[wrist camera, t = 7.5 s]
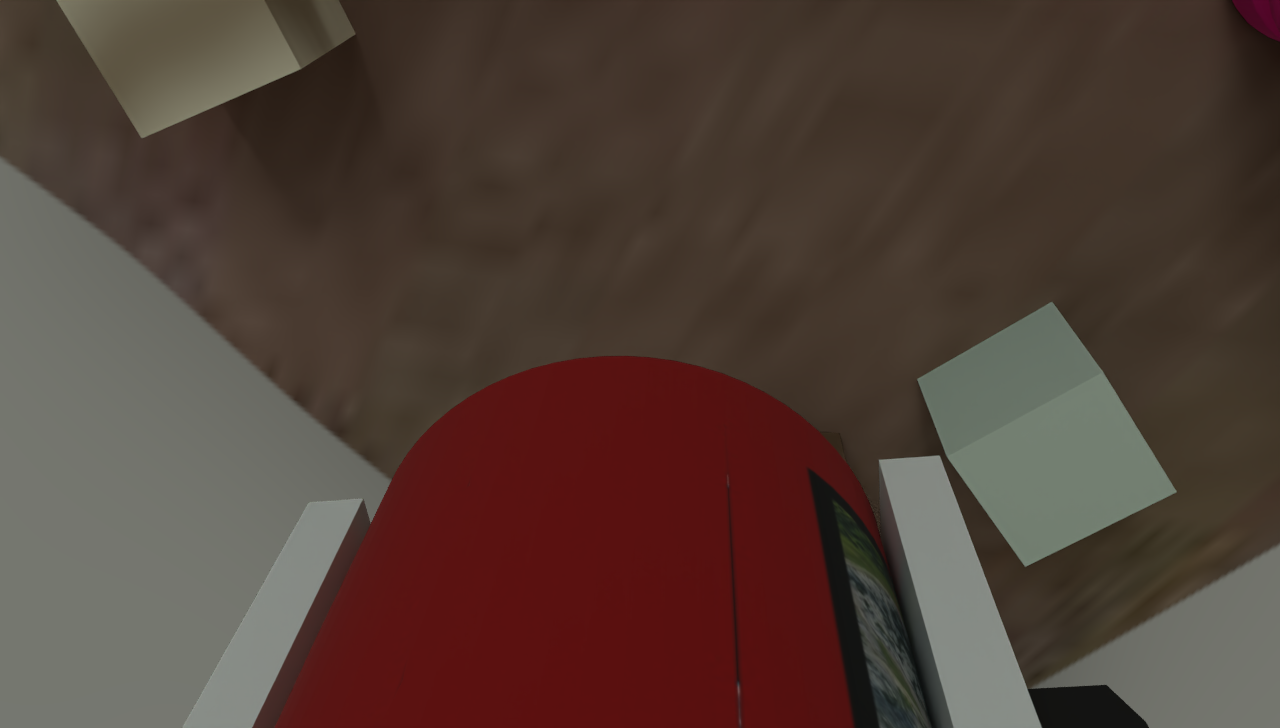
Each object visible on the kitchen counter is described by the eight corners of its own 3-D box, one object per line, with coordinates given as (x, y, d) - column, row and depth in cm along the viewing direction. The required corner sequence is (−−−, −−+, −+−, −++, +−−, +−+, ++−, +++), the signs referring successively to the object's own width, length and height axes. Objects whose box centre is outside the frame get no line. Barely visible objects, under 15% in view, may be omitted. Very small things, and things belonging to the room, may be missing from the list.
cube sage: (916, 378, 36) (946, 456, 32) (1051, 300, 35) (1103, 372, 30) (987, 478, 38) (1025, 567, 34) (1118, 409, 37) (1176, 491, 32)
